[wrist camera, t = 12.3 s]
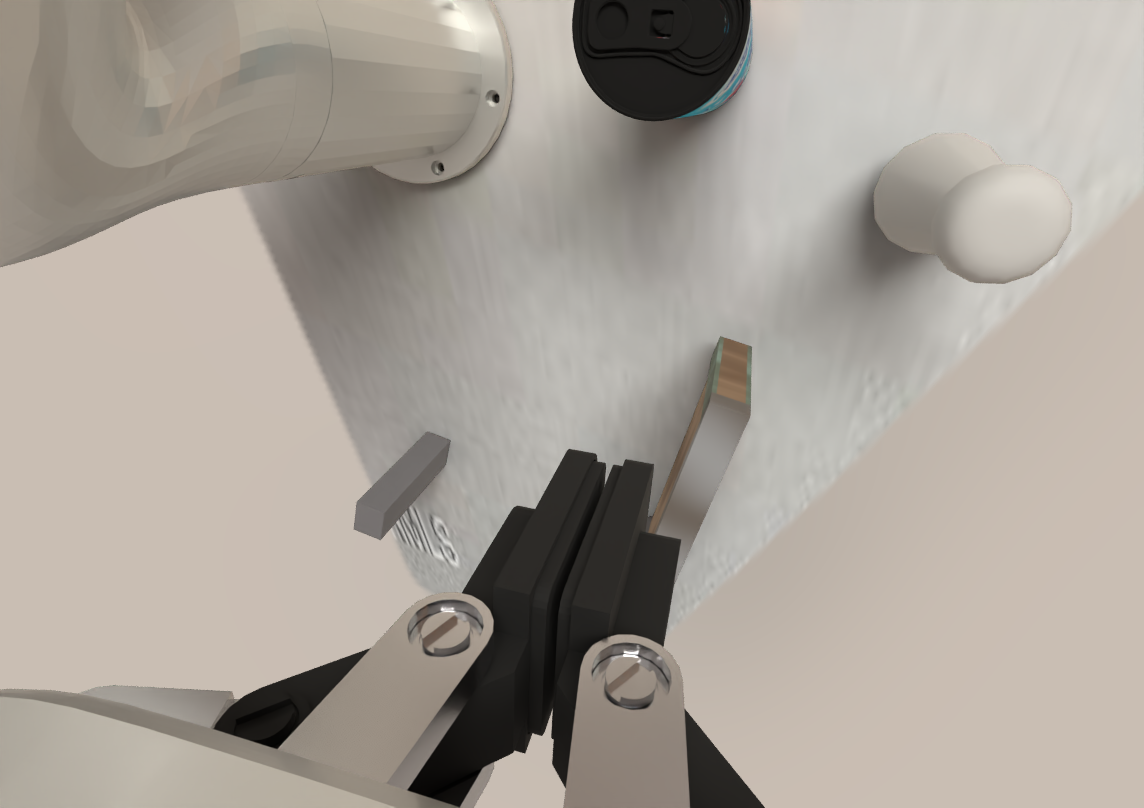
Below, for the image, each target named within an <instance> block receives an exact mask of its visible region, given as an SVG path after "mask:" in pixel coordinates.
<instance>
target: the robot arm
mask: <svg viewBox="0 0 1144 808" xmlns="http://www.w3.org/2000/svg"><path fill="white" fill-rule="evenodd" d="M512 79H513V71H512V60H511V50H510V47H509V43H508V39H507V35H506V31H505V27H504V25H503V23H502V20H501V18H500V16H499V13H498V11H497V9H496V7H495V5H494V3H493V2H492V0H0V267H3V266H7V265H11V264H15V263H18V262H22V261H25V260H28V259H32V258H35V257H39V256H42V255H45V254H48V253H51V252H53V251H56V250H59V249H62V248H64V247H67V246H69V245H72V244H74V243H76V242H79V241H81V240H83V239H86V238H88V237H90V236H93V235H95V234H97V233H99V232H101V231H103V230H105V229H108V228H110V227H112V226H114V225H116V224H118V223H120V222H123V221H125V220H126V219H129V218H131V217H133V216H135V215H137V214H139V213H142V212H144V211H147V210H149V209H151V208H154V207H156V206H159V205H163V204H166V203H168V202H172V201H175V200H178V199H182V198H186V197H190V196H194V195H198V194H202V193H206V192H211V191H216V190H221V189H226V188H232V187H239V186H245V185H251V184H257V183H263V182H273V181H279V180H285V179H292V178H298V177H304V176H310V175H316V174H323V173H329V172H335V171H342V170H348V169H354V168H361V167H367V166H371V167H373V168H374V169H376V170H377V171H379V172H380V173H382V174H385V175H387V176H389V177H391V178H394V179H396V180H400V181H405V182H409V183H435V182H440V181H445V180H447V179H450V178H453V177H456V176H459V175H461V174H463V173H464V172H466V171H467V170H469V169H471V168H472V167H474V166H475V165H476V164H477V163H478V162H479V161H480V160H481V159H482V158H483V157H484V156H485V155H486V154H487V153H488V152H489V150H490V149H491V147H492V146H493V144H494V143H495V141H496V140H497V138H498V137H499V135H500V132H501V130H502V127H503V125H504V123H505V120H506V118H507V114H508V109H509V105H510V101H511V95H512ZM496 94H498V95H499V99H500V101H499V103H496V102H495V98H494V97H495V95H496ZM441 163H442V164H443V166H444V171H443V170H442V169H441ZM653 470H654V464H649V463H643V462H638V461H632V460H627V459H626V460H625V462H624V464H623V466H619V465H613V467H612V469H611V472H610V474H609V477H608V479H607V482H606V484H605V473H606V463H602V462H597V455H596V454H594V453H589V452H583V451H578V450H572V449H568V451H567V452H566V454H565V456H564V457H563V459H562V461H561V463H560V465H559V467H558V468H557V470H556V472H555V474H554V476H553V478H552V479H551V481H550V483H549V485H548V487H547V489H546V490H545V492H544V494H543V496H542V498H541V500H540V501H539V503H538V505H537V507H536V509H531V508H527V507H522V506H516V507H514V508H513V509H512V511H511V512H510V514H509V515H508V517H507V519H506V520H505V522H504V524H503V525H502V527H501V529H500V530H499V532H498V534H497V535H496V537H495V539H494V540H493V542H492V544H491V545H490V547H489V549H488V550H487V552H486V554H485V555H484V557H483V559H482V560H481V562H480V564H479V565H478V567H477V568H476V570H475V572H474V573H473V575H472V577H471V578H470V580H469V582H468V583H467V585H466V587H465V588H464V590H463V592H462V593H459V592H444V593H439V594H435V595H431V596H428V597H426V598H424V599H422V600H420V601H418V602H416V603H415V604H414V605H412V606H411V607H410V608H409V609H407V610H406V611H405V612H404V613H403V614H402V616H401V617H400V618H399V619H398V620H397V621H396V622H395V623H394V624H393V625H392V626H391V627H390V628H389V630H388V631H387V632H386V633H385V634H384V635H383V636H382V637H381V638H380V639H379V640H378V641H377V642H376V644H375V645H374V646H373V647H372V648H370V649H367V650H364V651H362V652H359V653H356V654H353V655H351V656H348V657H345V658H342V659H339V660H337V661H334V662H331V663H328V664H326V665H323V666H320V667H317V668H314V669H312V670H309V671H306V672H303V673H301V674H298V675H295V676H292V677H290V678H287V679H284V680H281V681H278V682H276V683H273V684H270V685H267V686H265V687H262V688H260V689H258V690H256V691H253V692H252V693H250V694H248V695H245V696H244V697H242V698H241V699H234V697H233V693H232V692H231V691H213V690H194V689H174V688H155V687H136V686H116V685H113V686H103V687H95V688H92V689H90V690H87V691H84V692H81V693H78V694H76V693H68V692H61V691H52V690H27V689H2V690H0V808H474V806H475V804H476V803H477V800H478V799H479V797H480V796H481V794H482V792H483V790H484V789H485V787H486V785H487V783H488V781H489V779H490V777H491V774H492V771H493V769H494V762H495V761H497V760H499V759H502V758H504V757H506V756H508V755H510V754H512V753H513V752H514V750H515V751H518V752H522V753H525V752H526V750H527V747H528V744H529V741H530V738H531V736H532V733H534V734H537V735H541V736H542V735H543V734H544V732H545V729H546V726H547V723H548V720H549V718H550V715H551V711H552V709H553V716H552V734H551V738H552V739H554V744H553V761H552V764H553V766H554V768H555V770H556V772H557V773H558V775H559V777H560V779H561V781H562V783H563V784H564V786H565V788H566V791H565V799H564V807H563V808H765V807H764V806H763V805H762V804H761V802H760V801H759V800H758V799H757V798H756V796H755V795H754V794H753V792H752V791H751V790H750V789H749V788H748V786H747V785H746V784H745V783H744V781H743V780H742V779H741V778H740V776H739V775H738V774H737V773H736V771H735V770H734V769H733V768H732V766H731V765H730V764H729V763H728V762H727V760H726V759H725V758H724V757H723V755H722V754H721V753H720V752H719V751H718V749H717V748H716V747H715V746H714V744H713V743H712V742H711V741H710V739H709V738H708V737H707V736H706V735H705V733H704V732H703V731H702V729H701V728H700V727H699V726H698V725H697V723H696V722H695V721H694V720H693V718H692V717H691V716H690V715H689V713H688V712H687V711H686V710H685V709H684V693H683V679H682V675H681V671H680V667H679V666H678V664H677V663H676V661H675V659H674V658H673V656H672V655H671V654H670V653H669V652H668V651H666V650H665V649H664V648H663V646H664V641H665V635H666V629H667V623H668V617H669V611H670V605H671V599H672V593H673V587H674V581H675V575H676V569H677V563H678V557H679V551H680V545H681V539H677V538H672V537H667V536H662V535H657V534H653V533H648V532H646V524H647V517H648V509H649V501H650V494H651V486H652V478H653ZM604 485H605V487H604Z"/></svg>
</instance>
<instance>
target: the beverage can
mask: <svg viewBox="0 0 1144 808" xmlns="http://www.w3.org/2000/svg"><path fill="white" fill-rule="evenodd" d="M572 32H573V43H574V49H575V53H576V57H577V60H578V64H579V66H580V69H581V71H582V73H583V75H584V77H585V79H586V81H587V83H588V84H589V86H590V87H591V89H592V90H593V91H594V92H595V94H596V95H597V96H598V97H599V98H600V99H601V100H602V101H603V102H604V103H605V104H607V105H608V106H609V107H611V108H612V109H614V110H615V111H617V112H619V113H621V114H623V115H625V116H628V117H631V118H634V119H638V120H644V121H664V120H669V119H675V118H682V117H689V116H694V115H699V114H705V113H707V112H710V111H712V110H715V109H717V108H718V107H720V106H721V105H723V104H724V103H726V102H727V101H728V100H729V99H730V98H731V97H732V96H733V95H734V94H735V93H736V92H737V90H738V89H739V87H740V86H741V84H742V83H743V81H744V79H745V77H746V75H747V72H748V70H749V67H750V63H751V58H752V54H753V37H752V11H751V2H750V0H575V3H574V10H573V19H572Z"/></svg>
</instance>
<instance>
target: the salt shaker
mask: <svg viewBox="0 0 1144 808" xmlns="http://www.w3.org/2000/svg"><path fill="white" fill-rule="evenodd" d="M873 195H874V213H875V221H876V222H877V224H878V225H879V227H880V228H881V230H882V231H883V233H884V234H885V236H886V237H887V239H888V240H889V241H891V242H893V243H895V244H897V245H898V246H900V247H902V248H904V249H906V250H908V251H910V252H916V253H924V254H933V255H938V257H939V258H940V260H941V261H942V263H943V264H944V266H945V267H946V268H947V269H948V270H949V271H951V272H953V273H955V274H957V275H959V276H961V277H962V278H964V279H966V280H968V281H970V282H974V283H996V284H1005V283H1008V282H1011V281H1014V280H1017V279H1020V278H1023V277H1026V276H1029V275H1032V274H1034V273H1035V272H1036V271H1037V270H1039V269H1040V268H1041V267H1042V266H1043V265H1045V264H1046V263H1047V262H1048V261H1050V260H1051V259H1052V258H1053V257H1055V256H1056V255H1057V253H1058V251H1059V250H1060V248H1061V246H1062V245H1063V243H1064V241H1065V239H1066V238H1067V236H1068V234H1069V233H1070V231H1071V218H1072V203H1071V201H1070V199H1069V198H1068V196H1067V194H1066V192H1065V190H1064V189H1063V187H1062V185H1061V183H1060V182H1059V181H1058V180H1057V179H1056V178H1055V177H1053V176H1051V175H1049V174H1047V173H1045V172H1043V171H1041V170H1039V169H1037V168H1035V167H1033V166H1031V165H1005V163H1004V162H1003V161H1002V160H1001V158H1000V157H999V156H998V155H997V154H996V152H995V151H994V150H993V149H992V147H991V146H990V145H988V144H986V143H984V142H982V141H980V140H978V139H976V138H974V137H972V136H970V135H968V134H966V133H935V134H933V135H930V136H928V137H926V138H924V139H921V140H919V141H917V142H915V143H912V144H910V145H908V146H906V147H904V148H903V149H902V150H901V151H900V152H899V153H898V154H897V155H896V156H895V157H894V158H893V159H892V160H891V161H890V162H889V163H888V164H887V165H886V166H885V167H884V169H883V171H882V173H881V176H880V178H879V181H878V183H877V186H876V188H875V190H874V193H873Z"/></svg>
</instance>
